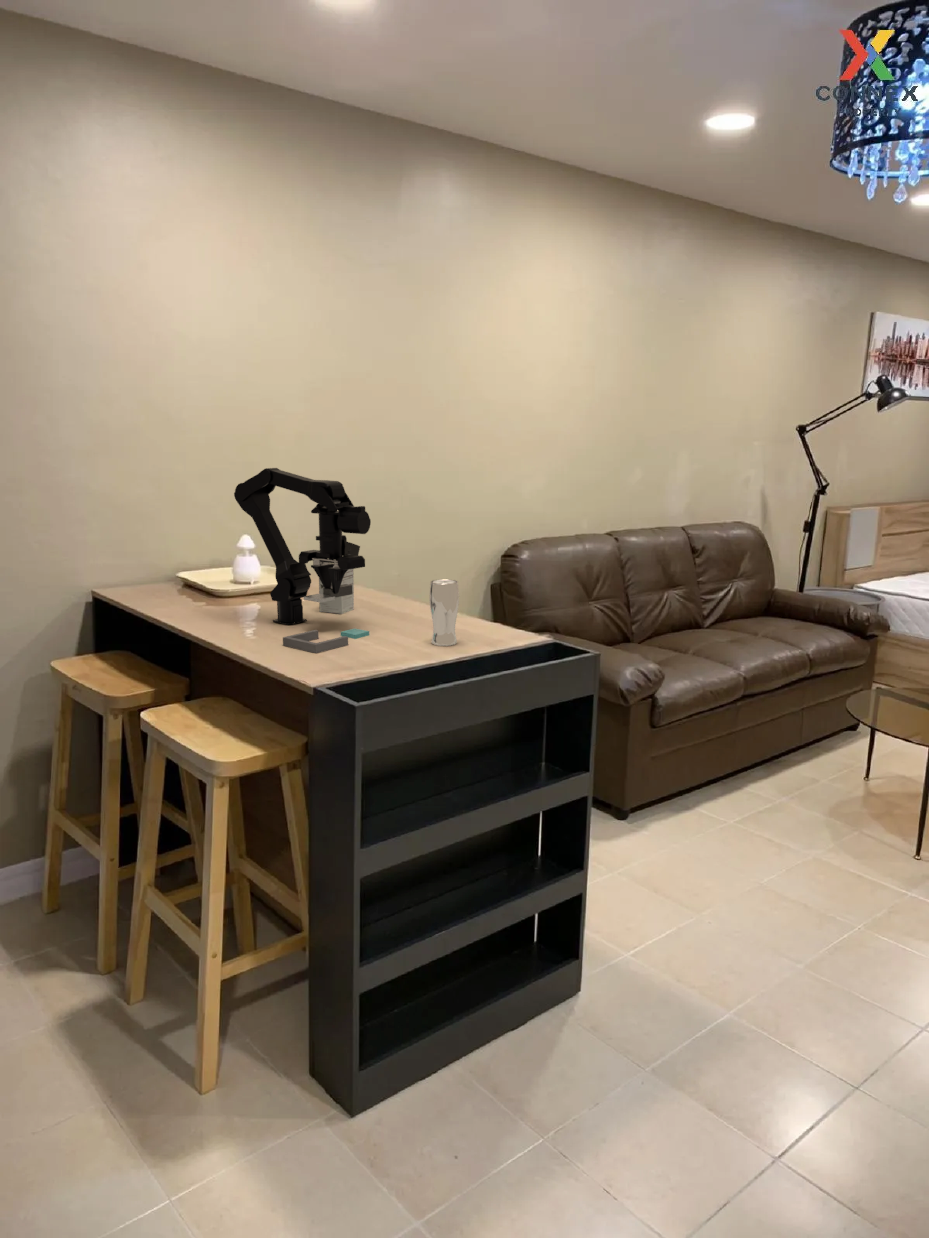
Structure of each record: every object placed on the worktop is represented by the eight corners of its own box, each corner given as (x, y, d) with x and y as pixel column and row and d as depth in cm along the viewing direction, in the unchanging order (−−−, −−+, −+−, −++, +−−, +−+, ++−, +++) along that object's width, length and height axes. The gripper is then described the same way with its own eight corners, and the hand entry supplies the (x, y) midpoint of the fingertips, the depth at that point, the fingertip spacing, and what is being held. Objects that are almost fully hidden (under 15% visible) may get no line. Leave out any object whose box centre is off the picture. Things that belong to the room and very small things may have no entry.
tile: (340, 637, 222) (340, 631, 222) (354, 634, 226) (354, 628, 226) (355, 640, 219) (355, 634, 219) (369, 637, 223) (369, 631, 223)
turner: (341, 592, 236) (340, 583, 235) (357, 595, 232) (357, 585, 232) (303, 599, 226) (303, 590, 225) (320, 602, 222) (319, 593, 222)
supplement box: (318, 612, 250) (317, 567, 247) (332, 607, 256) (331, 563, 254) (341, 614, 247) (340, 569, 244) (355, 609, 254) (354, 565, 251)
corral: (283, 645, 212) (282, 637, 212) (315, 637, 220) (314, 629, 220) (316, 653, 205) (316, 644, 205) (348, 644, 213) (348, 636, 213)
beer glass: (429, 639, 219) (428, 579, 216) (457, 639, 219) (457, 578, 216) (430, 646, 212) (430, 584, 209) (459, 646, 213) (460, 583, 209)
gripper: (379, 531, 226) (380, 592, 230) (328, 526, 238) (330, 584, 241) (348, 535, 218) (349, 599, 221) (296, 530, 229) (298, 590, 232)
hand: (332, 592), depth 229 cm, fingers closed on turner, 2 cm apart
